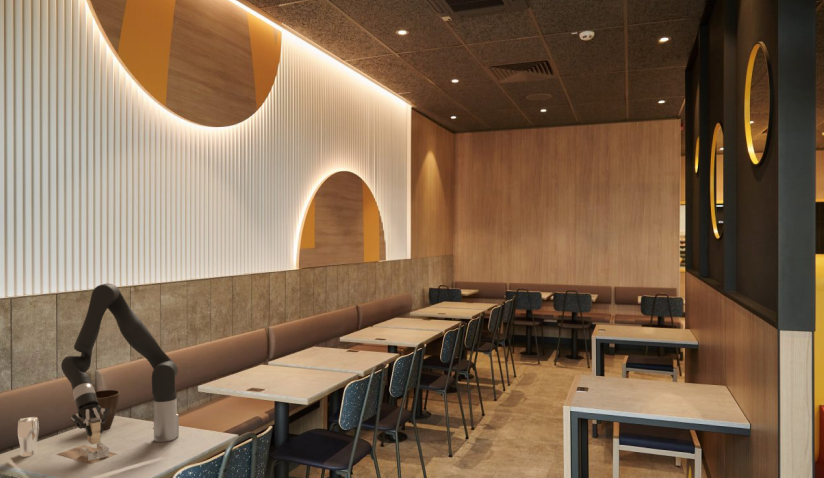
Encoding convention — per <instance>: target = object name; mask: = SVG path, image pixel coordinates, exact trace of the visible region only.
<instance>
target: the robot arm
mask: <svg viewBox="0 0 824 478" xmlns="http://www.w3.org/2000/svg"><path fill="white" fill-rule="evenodd" d="M107 310H108V311H109V312H110V313H111V314H112V315H113V317H114V319H115V321H116V323H117V327H118V329H119V331H120V334H121V335H122V337H123V338H124V340H125V341H126V342H127V344H128V345H130V347H131V348H133V350H135V351H136V352H137V353H138V354H139V355H141V356H143V357H144V358H145V359H146V360H147V361H148V362H149V365H150V366H151V367H152V369H153V370H152V372H151V392H152V396H153V441H154V442H157V443H165V442H171V441H173V440H175V439H177V438H178V437H179V436H180V430H179V428H180V418H179V416H180V415H179V413H178V409H177V406H178V405H177V403H178V402H177V400H178V399H177V396H178V393H177V390H176V377H177V376H178V373H179V372H178V371H179V370H178V366H177V364H176V363H175V362H174V361H173V360H172V358H170V357H169V356H168V355H167V353H165V351H164V350H163V349H162V348H161V347H160V345H159V343H158V341H157V340H156V339H155V338H154V336H153V335H152V333H151V332H150V330H149V328H148V327H146V325H145V324H144V323H143V322H142V320H141V319H140V317H138V315H137V314H136V313H135V311H134V310H133V309H132V308H131V307H130V306H129V304H128V303H127V301H126V299H125V297H124V296H123V294H122V292H121V291H120V289H119V287H118V286H117V285H115V284H113V283H107V282H106V283H103V284H99V285H98V286H96V287H94V288H93V289H92V292H91V295H90V300H89V304H88V309H87V312H86V316H85V319H84V322H83V323H82V327H81V329H80V331H79V332H78V335H77V337H76V340H75V343H74V345H73V349H74V350H75V351H76V352H78V353H80V354H81V355H67V356H66V357H64V358H63V359H62V362H61V371H62V373H63V374H64V376H65V377H66V379H67V381H68V382H69V383H70V384H71V389H72V392H73V400H74V402H75V407H76V410H77V412H76V413H74V414H72V415H71V418H70V420H71V422H73V423H74V424H75V426H76V427H78V429H85V432H86V436H88V435H89V437H90V436H92V434H93V433H92V431H91V427H90V426H89V419H90V418H93V417H96V418H99V419H100V416H99V413H100V411H101V412H102V414H103V417H102V420H101V419H100V435H102V434H103V432H104V431H103V426H102V424H104V423H105V421H106V418H107V414H108V408H105V409H104V408H101V407H100V406H99V404H98V400H97V397H96V393H95V390H96V389H95V387H94V386H93V382H92V380H91V377H90V374H88V373H86V372H87V371H89V369H90V368H91V364H92V355H93V348H94V346H95V344H96V341H97V339H98V337H99V333H100V330H101V324H102V319H103V317H104V315H105V313H106V312H107ZM81 419H83V421H82V420H81Z"/></svg>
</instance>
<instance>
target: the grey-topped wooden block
mask: <svg viewBox="0 0 824 478" xmlns="http://www.w3.org/2000/svg"><path fill="white" fill-rule="evenodd" d="M89 426H90V427H91V431H92V433H93V434H92V436H90V437H89V435H87V443H89V444H90V445H97V443H101V434H100V419H99V418H96V417H93V418H90V419H89Z"/></svg>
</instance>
